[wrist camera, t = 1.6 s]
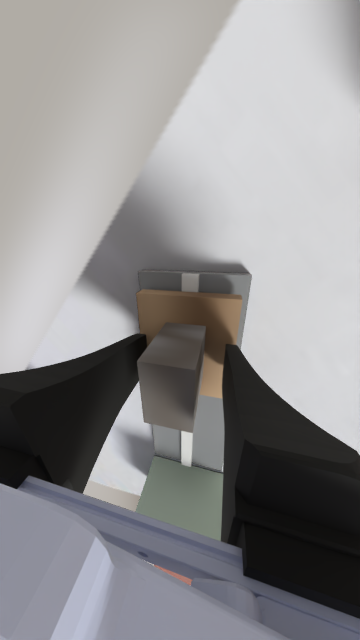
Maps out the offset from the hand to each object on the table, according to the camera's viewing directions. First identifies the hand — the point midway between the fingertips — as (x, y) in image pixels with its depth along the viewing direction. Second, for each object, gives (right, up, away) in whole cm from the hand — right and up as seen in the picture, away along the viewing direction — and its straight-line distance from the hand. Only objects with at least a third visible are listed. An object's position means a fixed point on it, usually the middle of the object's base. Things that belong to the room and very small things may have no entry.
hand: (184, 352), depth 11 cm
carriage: (0, +1, +1) cm, 1 cm away
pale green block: (+1, -17, +10) cm, 20 cm away
